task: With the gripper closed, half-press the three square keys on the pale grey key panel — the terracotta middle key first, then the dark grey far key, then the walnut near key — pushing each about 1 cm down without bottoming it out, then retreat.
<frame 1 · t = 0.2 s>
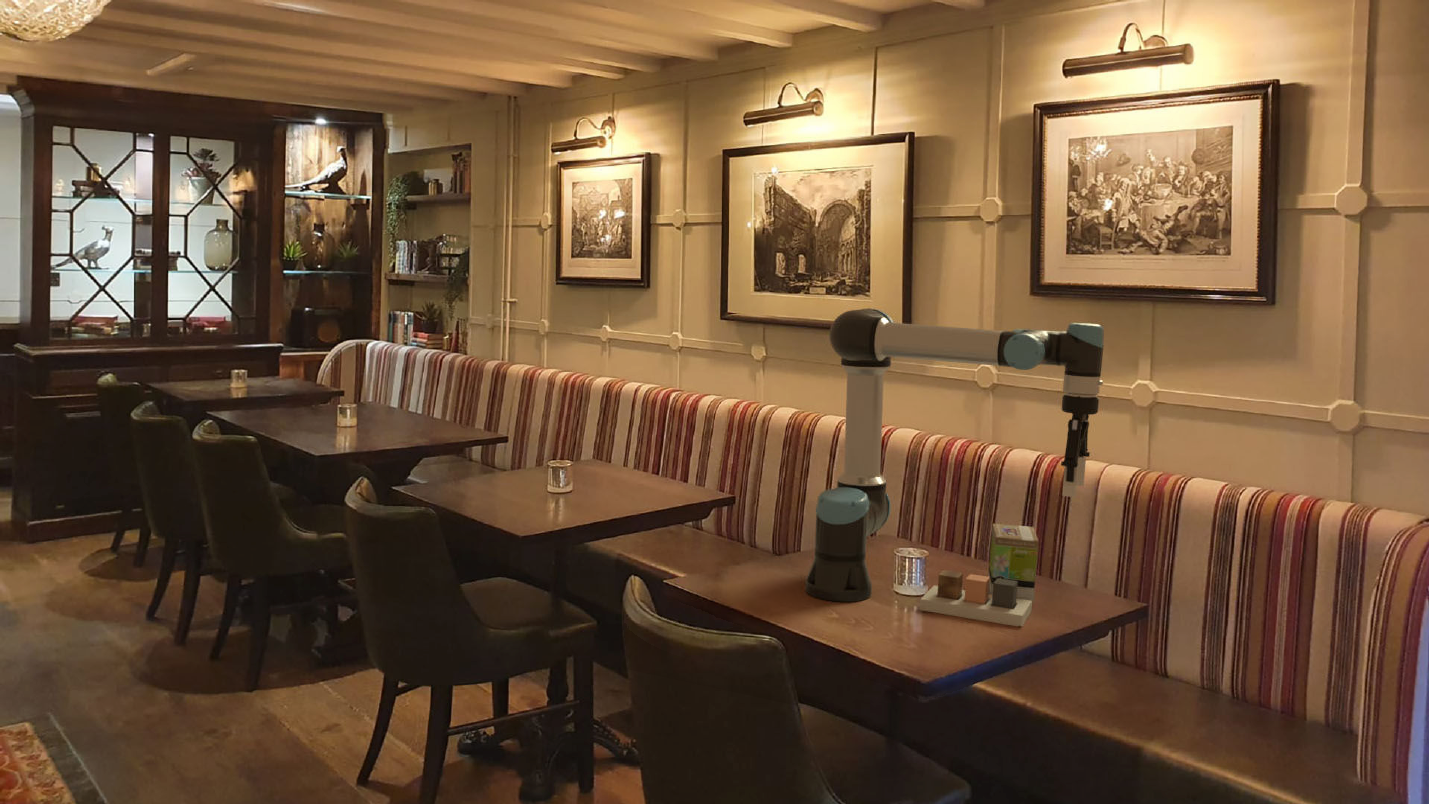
hand: (1073, 490, 243), 27 cm above the table, fingers open, 13 cm apart
key dark grey: (1004, 593, 242), point 5 cm above the table, slide at 0.0 cm
key walnut: (950, 584, 247), point 5 cm above the table, slide at 0.0 cm
tea box: (1010, 593, 260), on the table
key terracotta: (977, 588, 244), point 5 cm above the table, slide at 0.0 cm
key panel: (975, 610, 245), on the table
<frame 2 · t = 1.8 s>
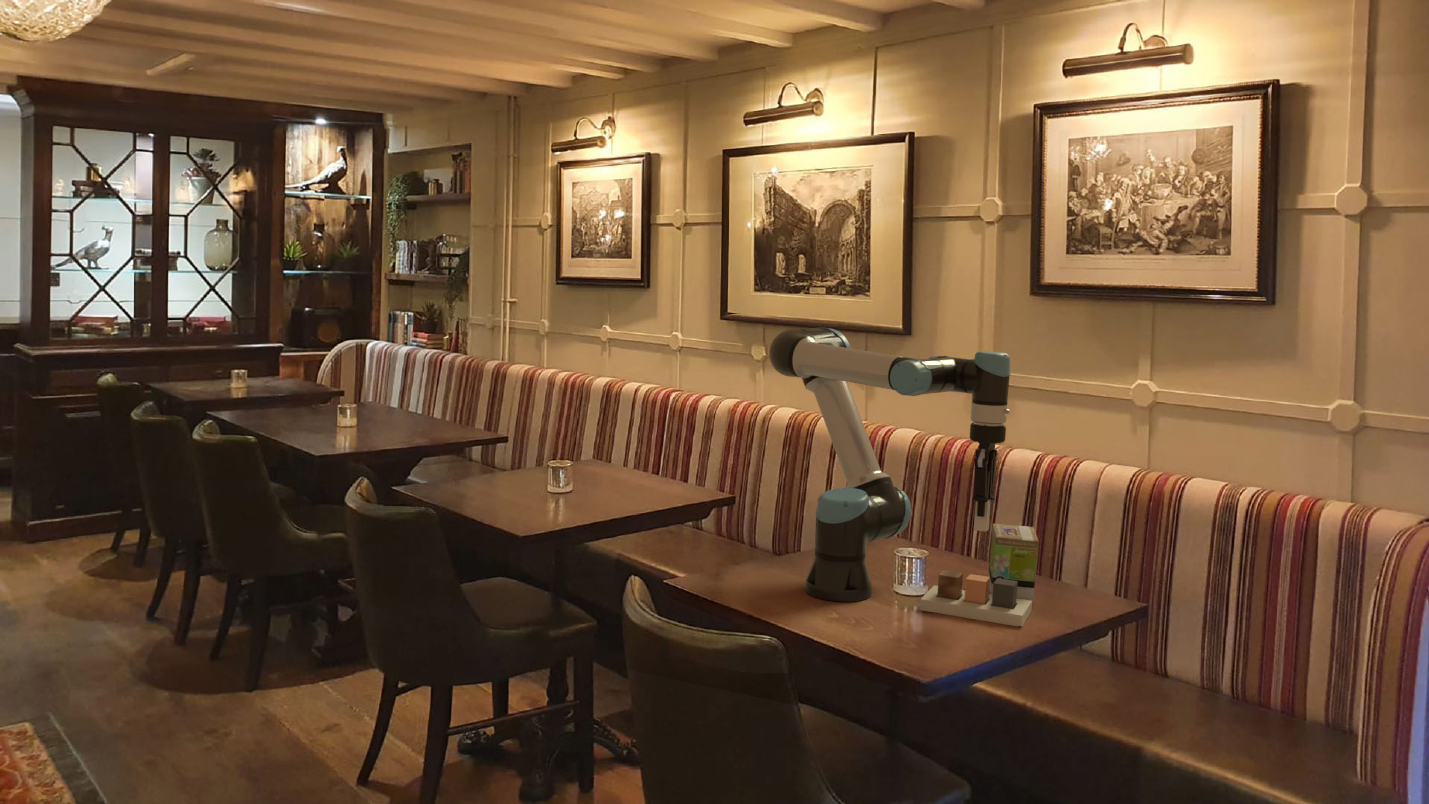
hand: (981, 529, 243), 18 cm above the table, fingers closed
nothing on the table moved.
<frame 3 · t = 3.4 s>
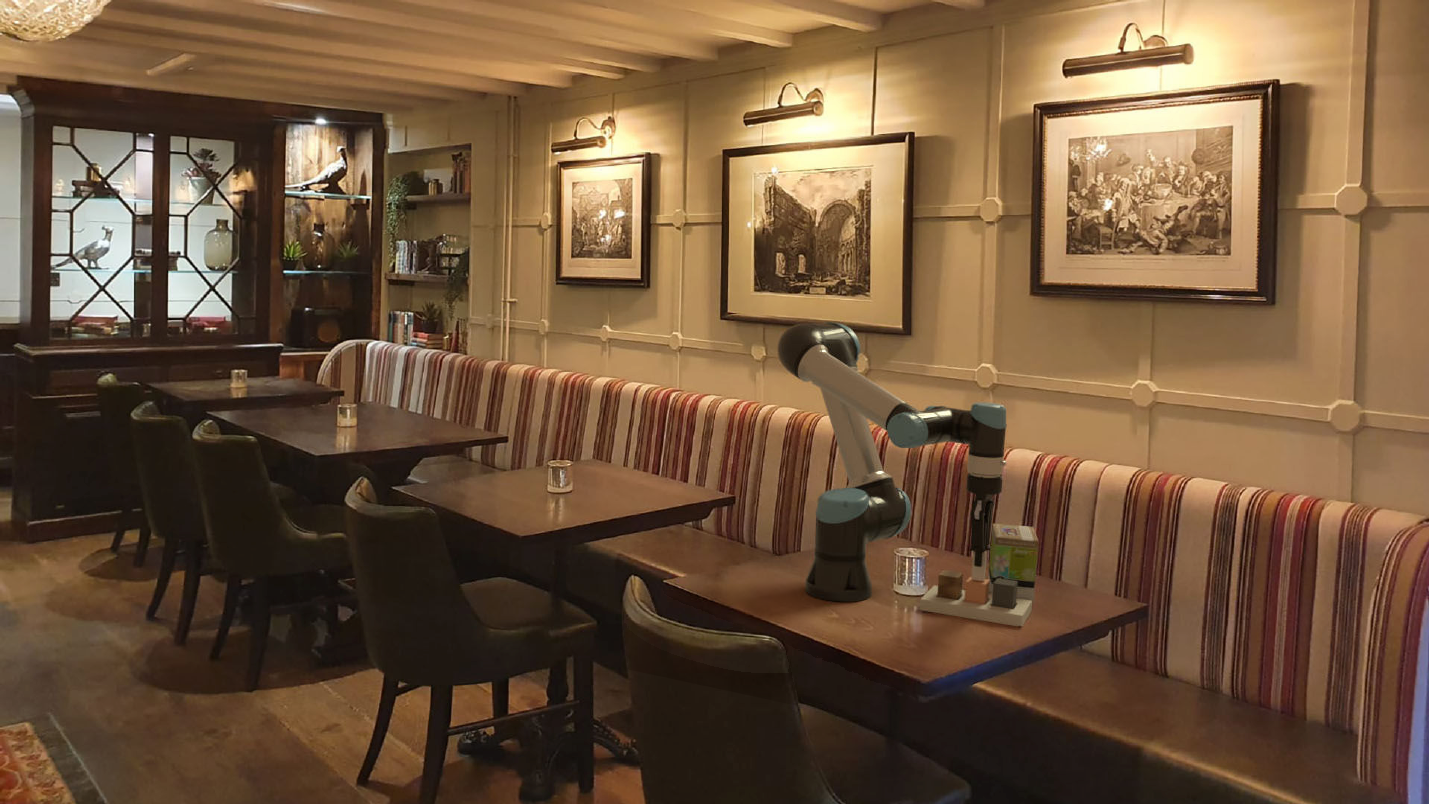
hand: (978, 579, 244), 7 cm above the table, fingers closed
key terracotta: (977, 591, 244), point 4 cm above the table, slide at 0.6 cm
everything else where it was.
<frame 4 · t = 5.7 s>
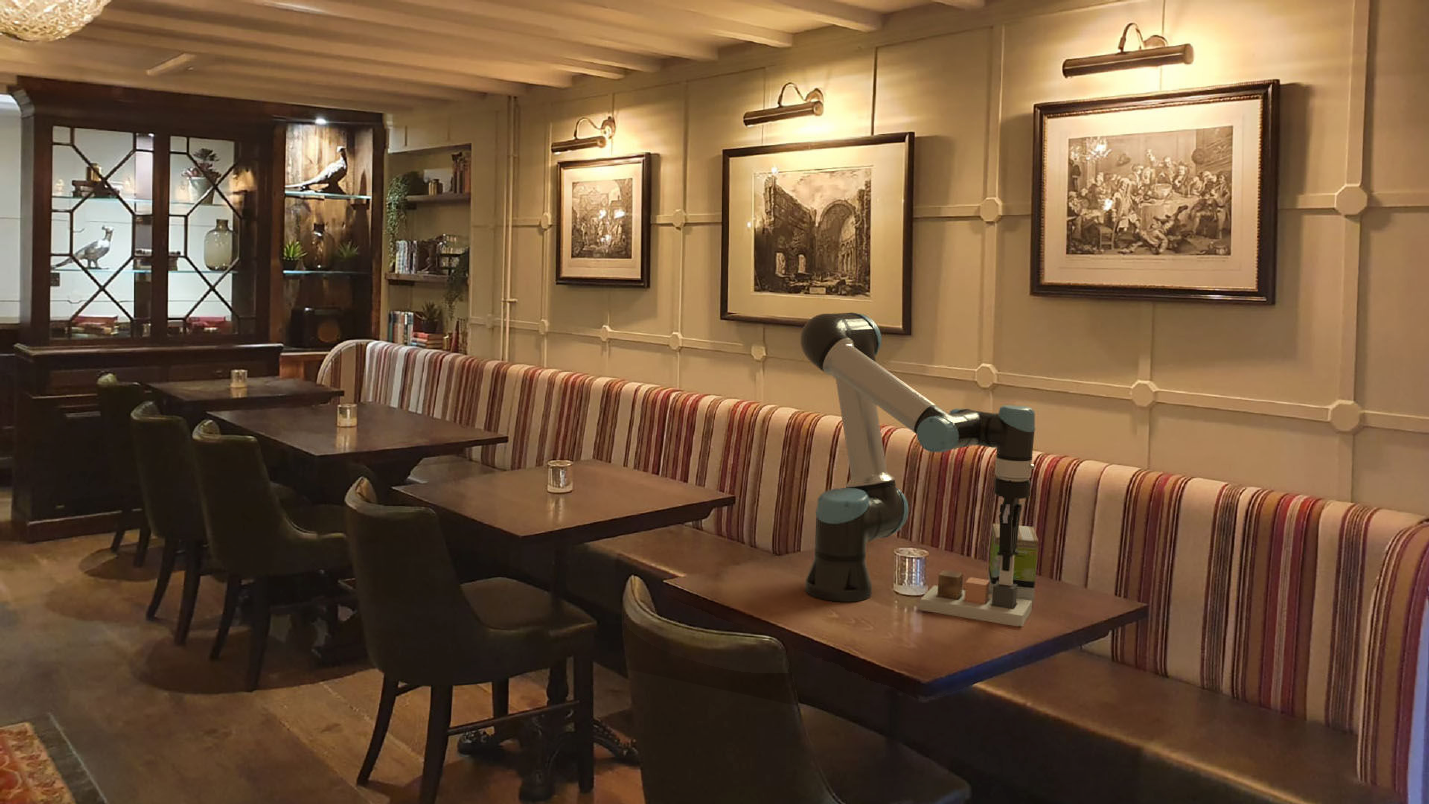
hand: (1005, 584, 241), 7 cm above the table, fingers closed
key dark grey: (1004, 596, 242), point 4 cm above the table, slide at 0.7 cm, touching gripper
everything else where it was.
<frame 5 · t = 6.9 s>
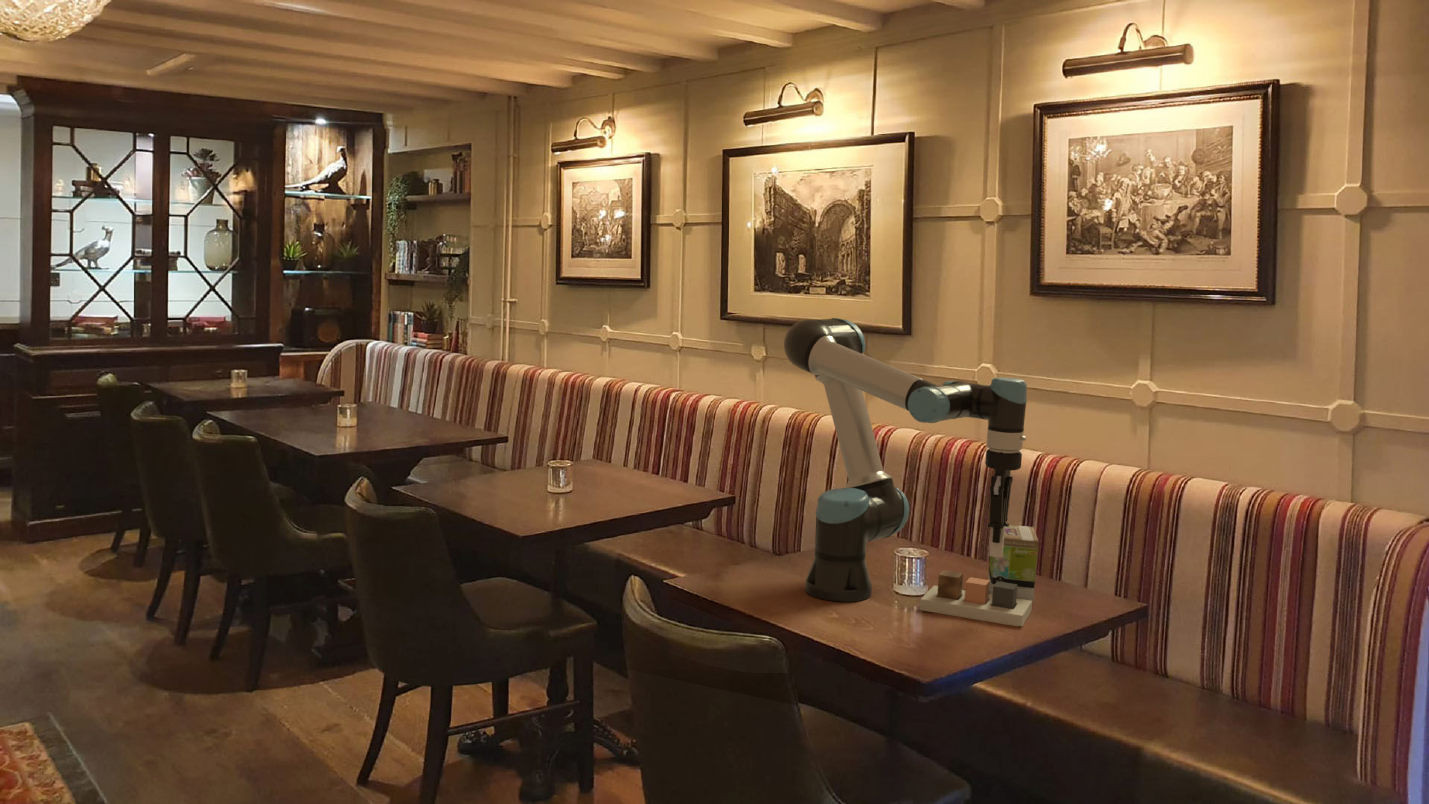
hand: (995, 556, 242), 13 cm above the table, fingers closed
key dark grey: (1004, 596, 242), point 4 cm above the table, slide at 0.7 cm
everything else where it was.
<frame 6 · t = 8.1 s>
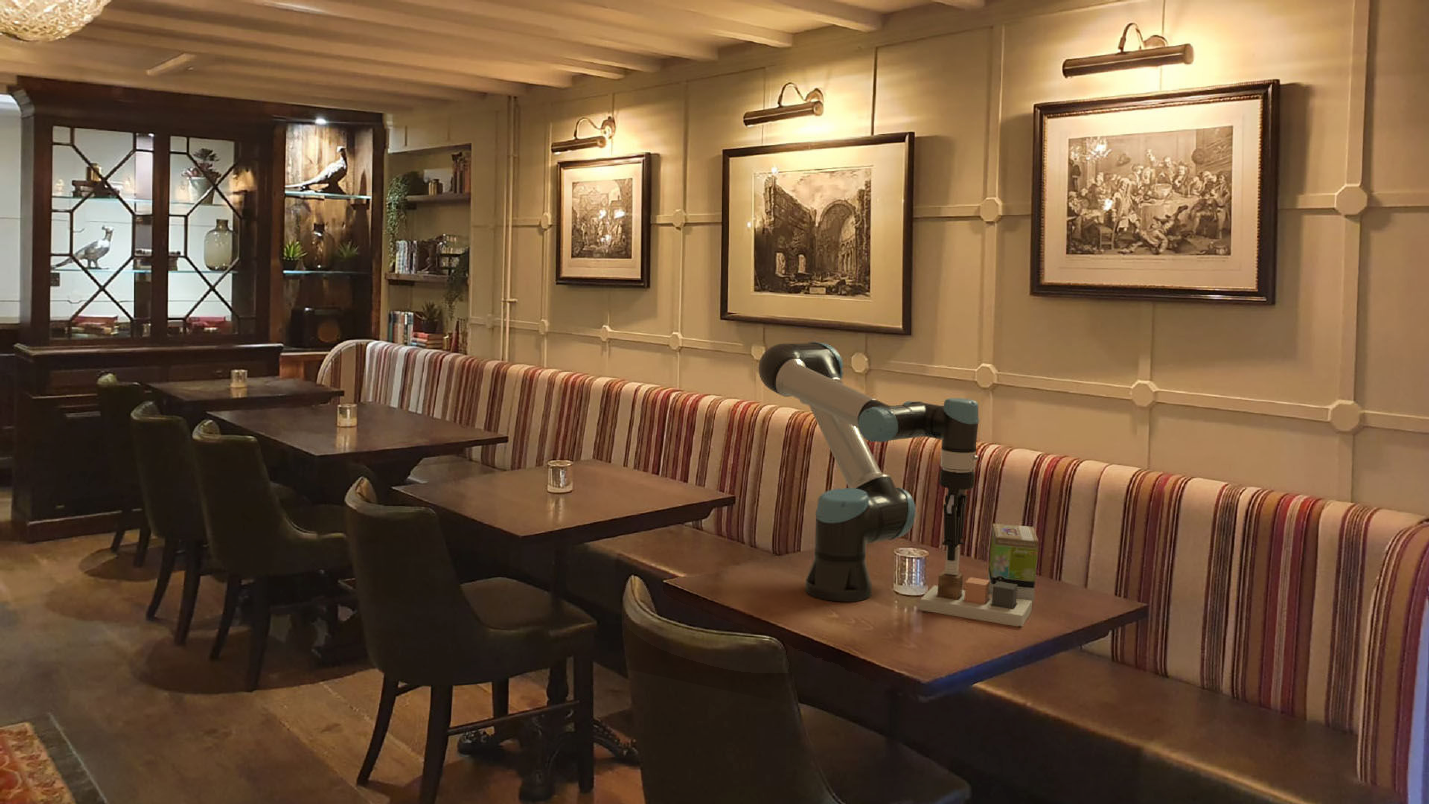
hand: (951, 573, 246), 8 cm above the table, fingers closed
key walnut: (950, 585, 247), point 5 cm above the table, slide at 0.2 cm, touching gripper
everything else where it was.
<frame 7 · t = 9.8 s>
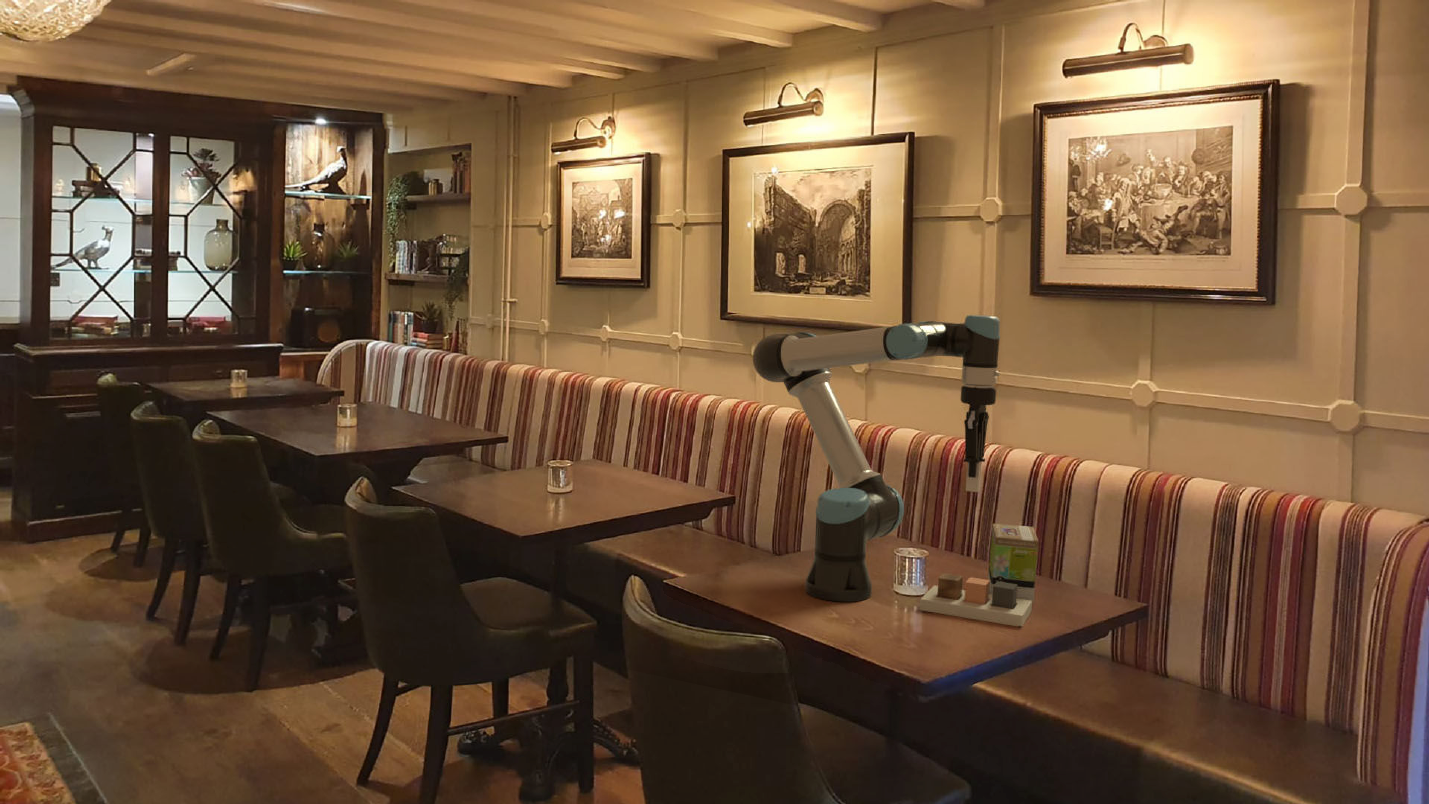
hand: (972, 490, 247), 26 cm above the table, fingers closed
key walnut: (950, 587, 247), point 4 cm above the table, slide at 0.7 cm
everything else where it was.
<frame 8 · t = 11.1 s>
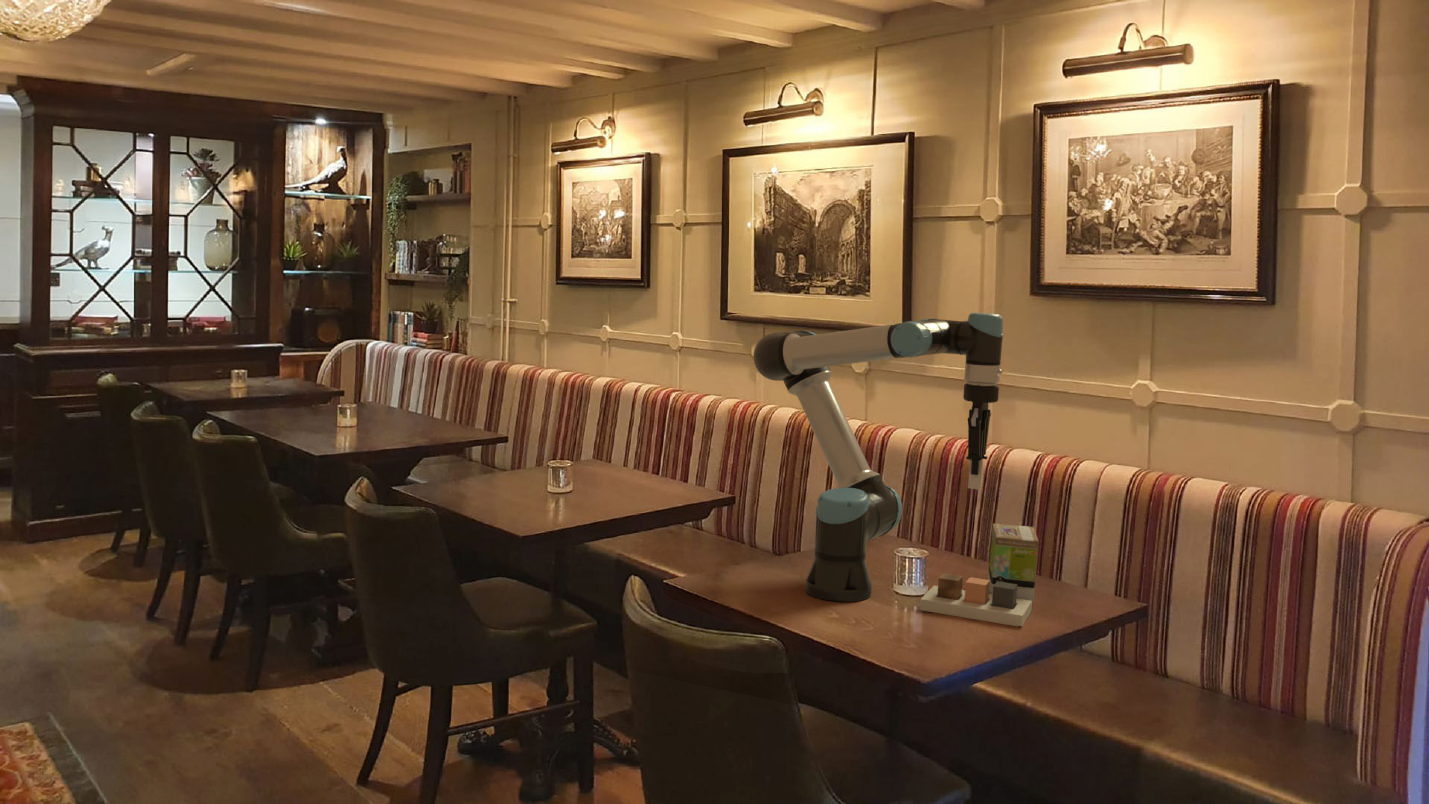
hand: (974, 488, 247), 26 cm above the table, fingers closed
nothing on the table moved.
at the end: key terracotta slide at 0.7 cm; key dark grey slide at 0.7 cm; key walnut slide at 0.7 cm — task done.
